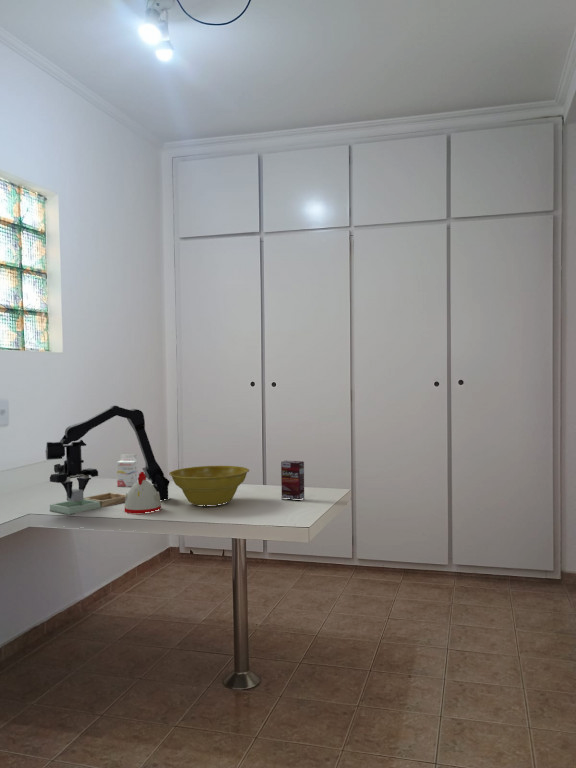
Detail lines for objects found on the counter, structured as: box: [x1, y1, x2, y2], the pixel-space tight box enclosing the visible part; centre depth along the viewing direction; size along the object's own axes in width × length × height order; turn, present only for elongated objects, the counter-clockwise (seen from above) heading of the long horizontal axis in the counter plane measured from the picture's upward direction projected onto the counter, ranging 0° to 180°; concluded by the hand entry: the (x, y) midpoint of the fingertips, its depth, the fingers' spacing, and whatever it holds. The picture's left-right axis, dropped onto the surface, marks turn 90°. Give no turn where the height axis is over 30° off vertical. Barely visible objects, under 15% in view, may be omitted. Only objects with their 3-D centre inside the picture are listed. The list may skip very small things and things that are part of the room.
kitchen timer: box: [124, 471, 162, 514], centre depth 258 cm, size 14×14×15 cm
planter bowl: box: [168, 465, 250, 506], centre depth 268 cm, size 32×32×13 cm
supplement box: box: [280, 460, 305, 499], centre depth 273 cm, size 9×5×16 cm, turn 62°
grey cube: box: [66, 488, 84, 502], centre depth 262 cm, size 4×4×4 cm
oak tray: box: [83, 492, 126, 508], centre depth 274 cm, size 13×14×2 cm
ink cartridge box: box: [116, 453, 138, 487], centre depth 314 cm, size 9×5×15 cm, turn 84°
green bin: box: [49, 499, 101, 516], centre depth 262 cm, size 13×14×2 cm
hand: (75, 497), depth 262 cm, fingers closed on grey cube, 4 cm apart
